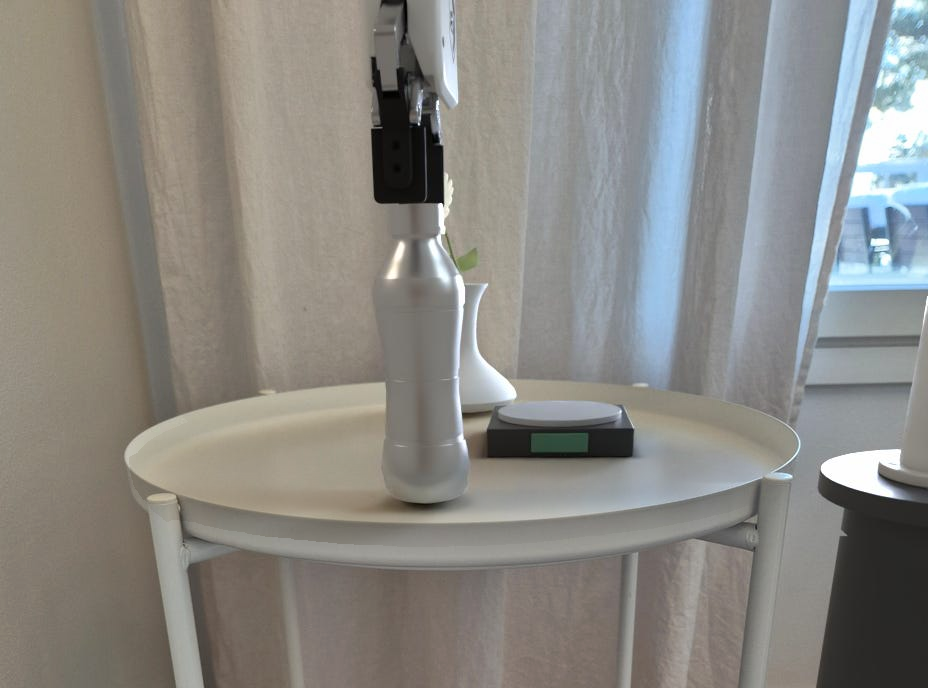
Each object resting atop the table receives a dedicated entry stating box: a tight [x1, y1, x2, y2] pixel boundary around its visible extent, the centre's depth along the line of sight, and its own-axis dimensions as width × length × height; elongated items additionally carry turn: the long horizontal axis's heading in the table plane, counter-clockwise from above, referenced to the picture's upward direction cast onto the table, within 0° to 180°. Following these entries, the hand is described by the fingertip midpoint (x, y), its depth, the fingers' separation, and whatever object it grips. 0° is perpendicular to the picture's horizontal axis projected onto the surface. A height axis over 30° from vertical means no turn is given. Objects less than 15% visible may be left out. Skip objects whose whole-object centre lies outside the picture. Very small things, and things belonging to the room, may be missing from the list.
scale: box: [486, 399, 635, 458], centre depth 85 cm, size 13×14×3 cm
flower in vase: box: [443, 172, 518, 414], centre depth 98 cm, size 13×11×25 cm
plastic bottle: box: [371, 203, 471, 505], centre depth 63 cm, size 6×7×20 cm
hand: (412, 206), depth 59 cm, fingers open, 9 cm apart
